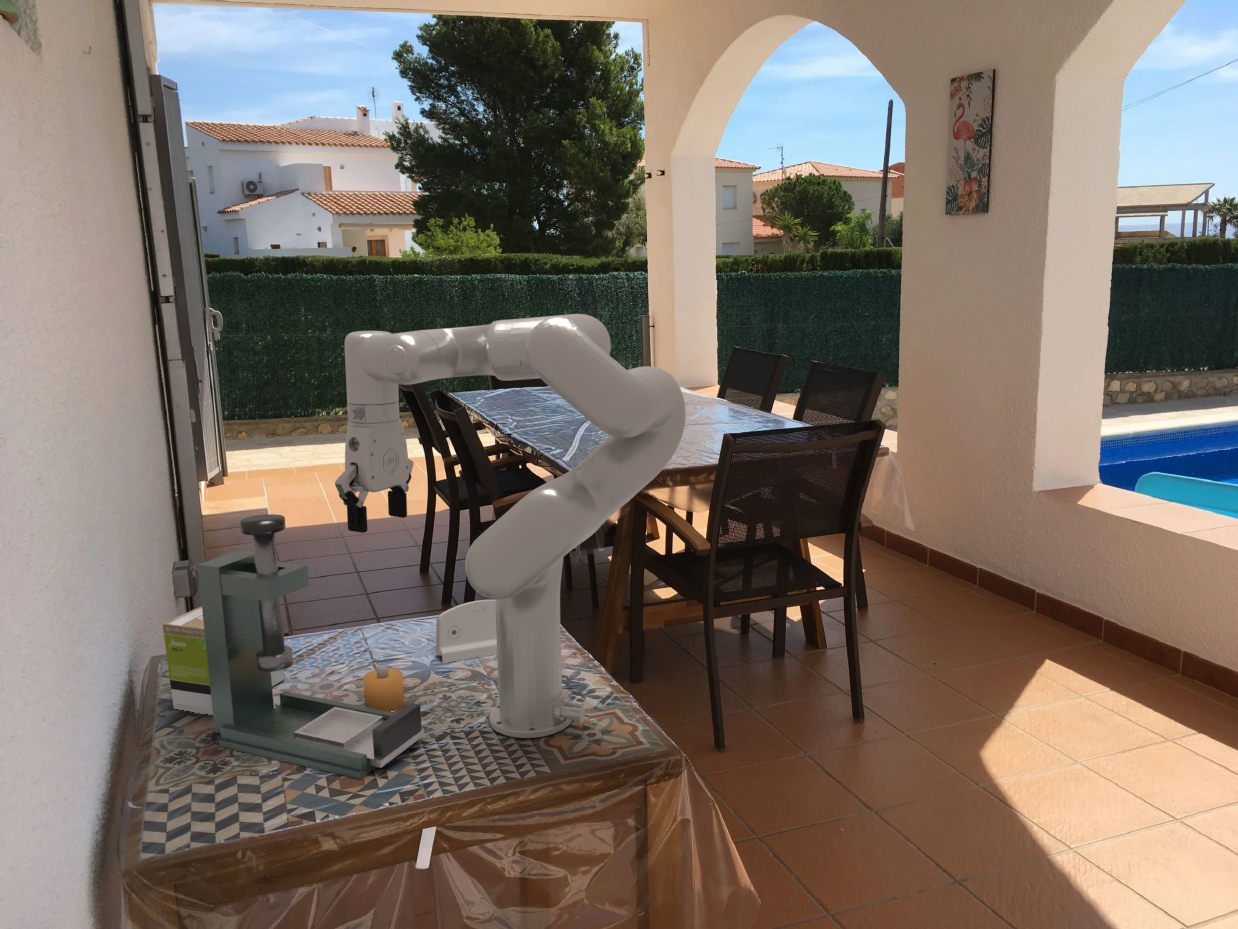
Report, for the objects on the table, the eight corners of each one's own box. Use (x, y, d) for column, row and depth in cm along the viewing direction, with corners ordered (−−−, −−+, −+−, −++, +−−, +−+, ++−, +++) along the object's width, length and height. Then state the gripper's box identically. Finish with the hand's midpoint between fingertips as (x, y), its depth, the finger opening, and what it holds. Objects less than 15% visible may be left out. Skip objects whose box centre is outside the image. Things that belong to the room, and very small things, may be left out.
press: (421, 734, 140) (411, 564, 135) (360, 779, 128) (346, 594, 123) (268, 702, 152) (254, 545, 147) (198, 741, 139) (180, 570, 134)
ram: (305, 660, 141) (293, 516, 137) (276, 675, 136) (263, 526, 132) (274, 654, 144) (261, 512, 140) (244, 669, 138) (230, 522, 134)
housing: (411, 701, 152) (409, 662, 150) (388, 717, 146) (386, 677, 145) (381, 695, 154) (378, 657, 153) (357, 710, 148) (354, 671, 147)
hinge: (441, 664, 166) (434, 607, 167) (436, 663, 170) (429, 608, 171) (532, 648, 172) (525, 593, 174) (525, 648, 177) (518, 594, 178)
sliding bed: (424, 735, 137) (422, 702, 137) (381, 767, 128) (378, 733, 128) (338, 717, 144) (336, 686, 143) (291, 747, 134) (288, 714, 134)
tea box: (237, 673, 163) (230, 591, 161) (286, 681, 160) (279, 596, 157) (170, 710, 149) (160, 621, 147) (222, 719, 146) (213, 628, 143)
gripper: (356, 423, 134) (361, 540, 138) (428, 408, 150) (431, 513, 153) (314, 419, 137) (320, 534, 141) (389, 405, 153) (393, 509, 156)
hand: (378, 523), depth 147 cm, fingers open, 9 cm apart
